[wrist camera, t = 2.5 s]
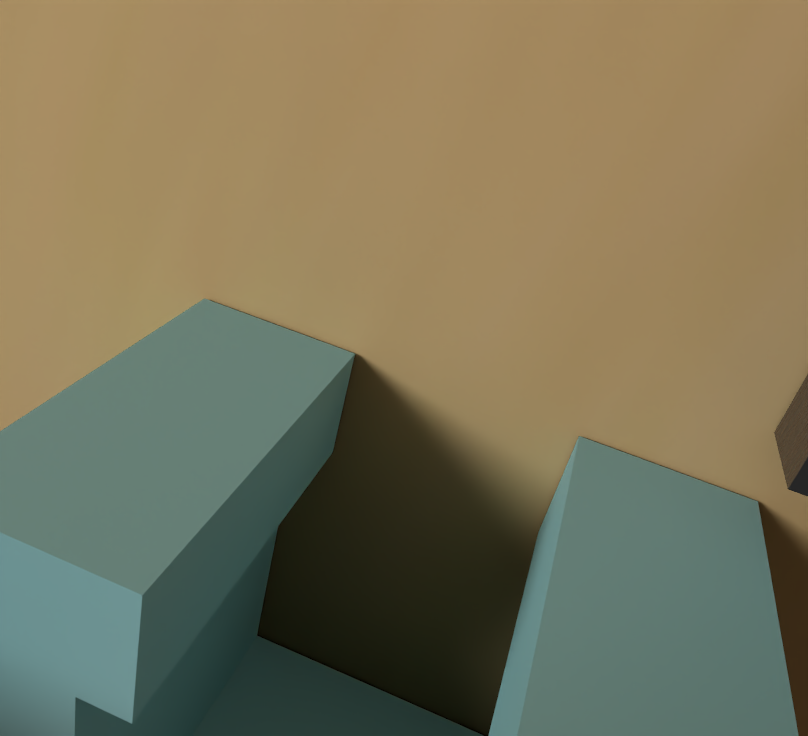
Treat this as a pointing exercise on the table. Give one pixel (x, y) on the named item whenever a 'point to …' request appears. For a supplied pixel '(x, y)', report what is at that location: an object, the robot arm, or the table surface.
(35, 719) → the teal u-channel block
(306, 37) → the table surface
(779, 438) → the base plate
